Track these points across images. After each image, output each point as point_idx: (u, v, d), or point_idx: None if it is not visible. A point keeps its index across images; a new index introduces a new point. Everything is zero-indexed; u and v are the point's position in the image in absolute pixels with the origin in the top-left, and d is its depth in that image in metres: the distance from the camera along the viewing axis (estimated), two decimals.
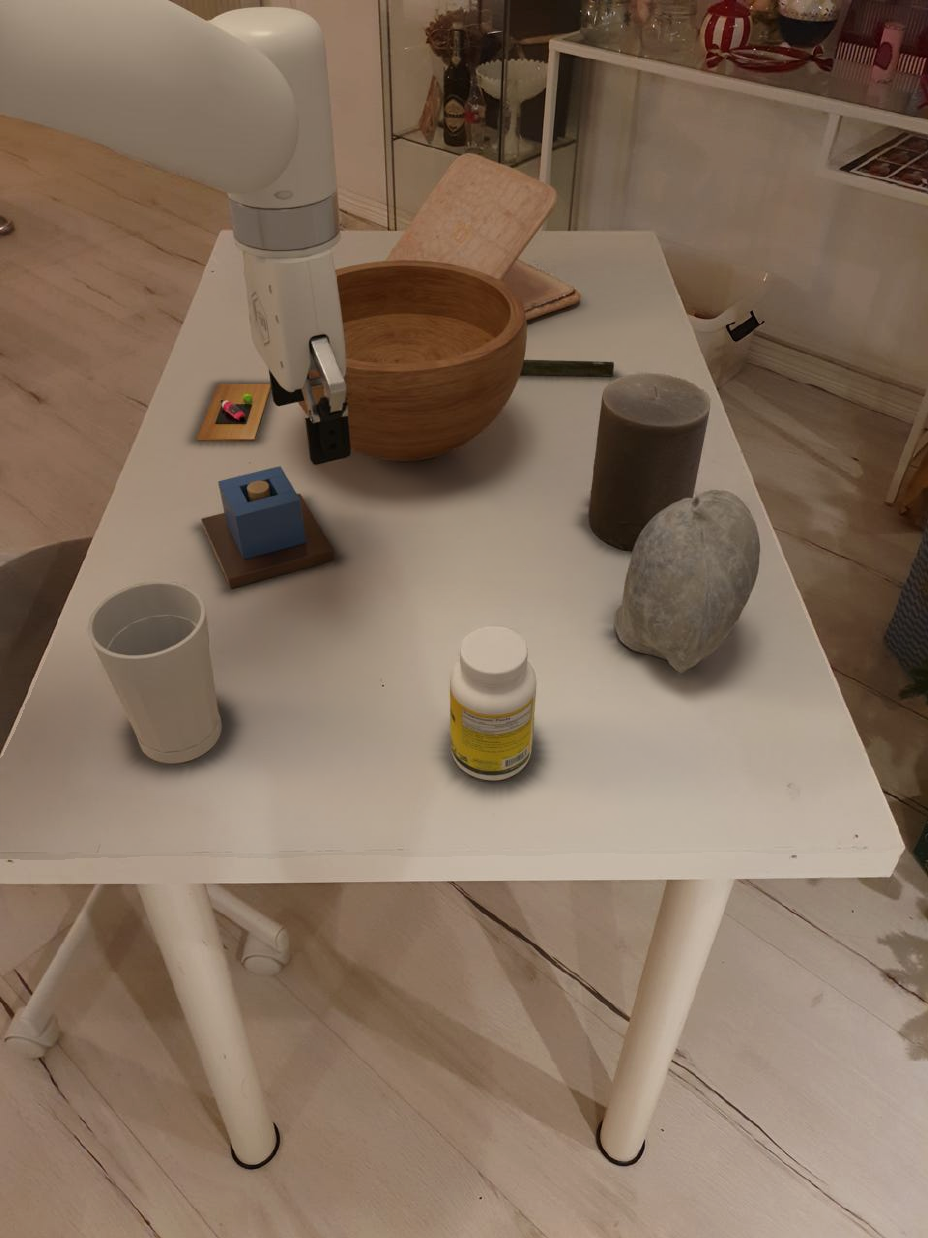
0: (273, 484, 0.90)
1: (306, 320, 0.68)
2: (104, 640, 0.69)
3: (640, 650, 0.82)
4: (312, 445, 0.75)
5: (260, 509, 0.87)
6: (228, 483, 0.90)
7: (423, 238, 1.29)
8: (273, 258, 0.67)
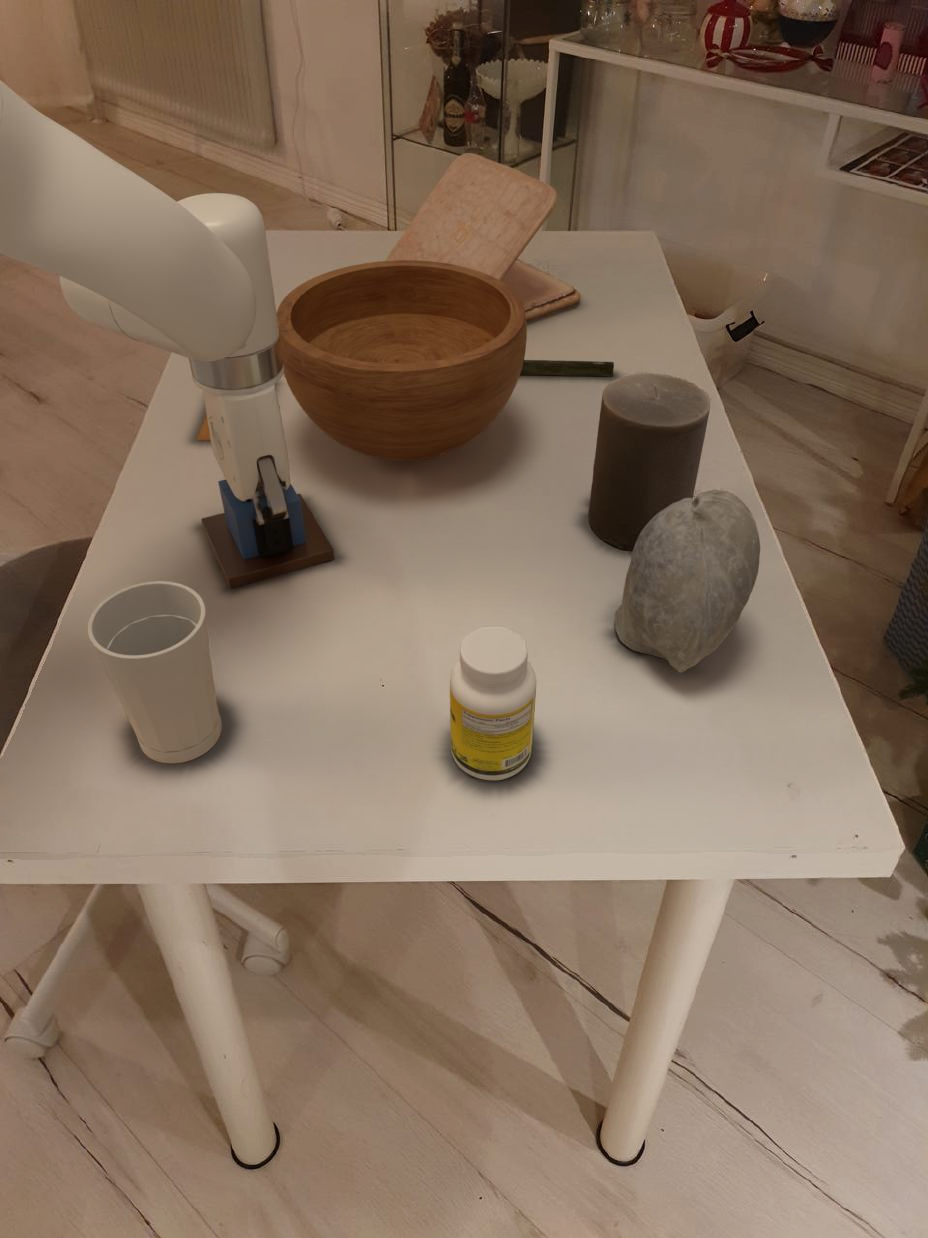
0: None
1: (253, 445, 0.80)
2: (103, 640, 0.69)
3: (640, 650, 0.82)
4: (259, 542, 0.88)
5: None
6: None
7: (423, 238, 1.29)
8: (224, 395, 0.79)
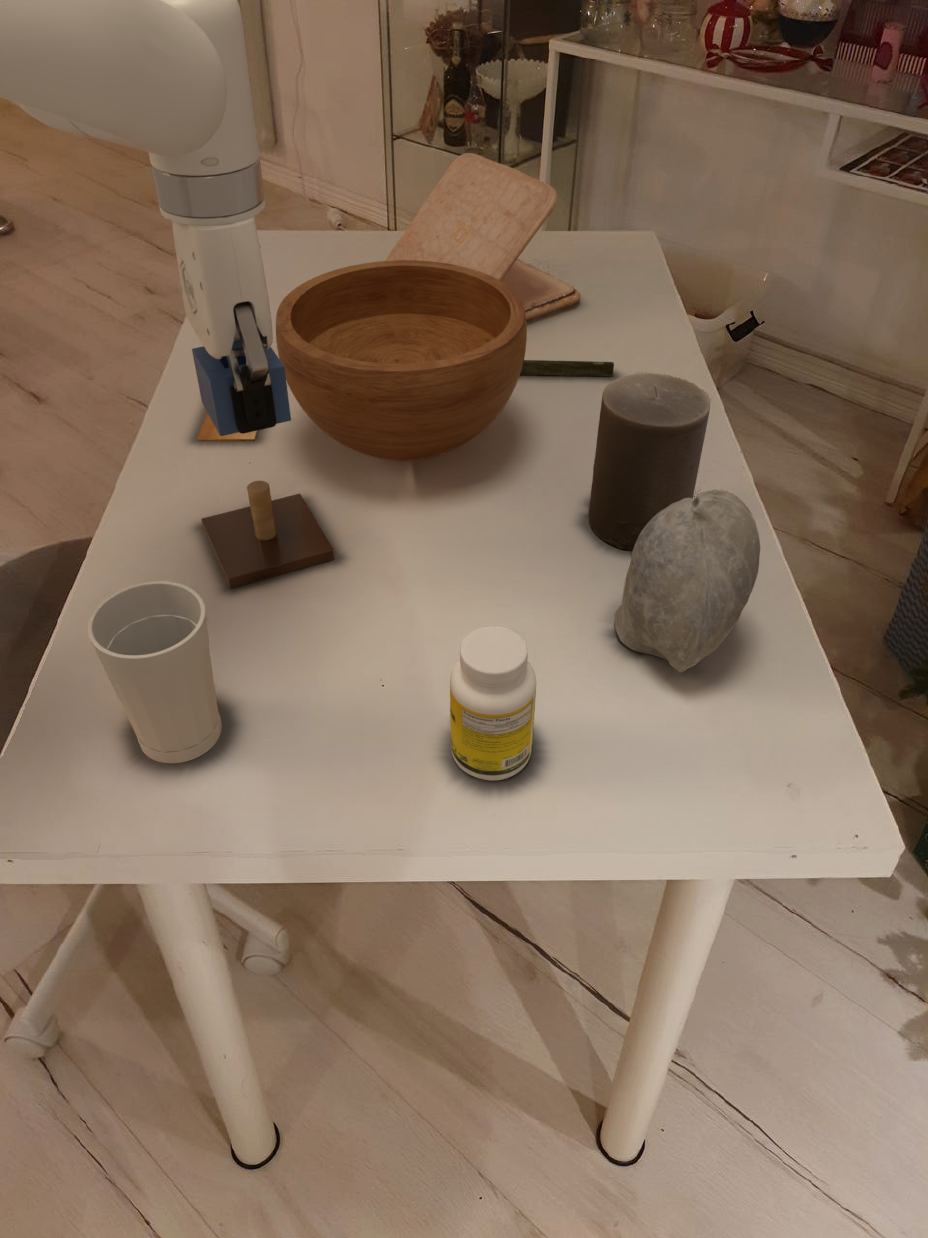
0: None
1: (230, 287, 0.70)
2: (103, 640, 0.69)
3: (640, 650, 0.82)
4: (237, 414, 0.78)
5: None
6: (203, 350, 0.80)
7: (423, 238, 1.29)
8: (195, 225, 0.68)
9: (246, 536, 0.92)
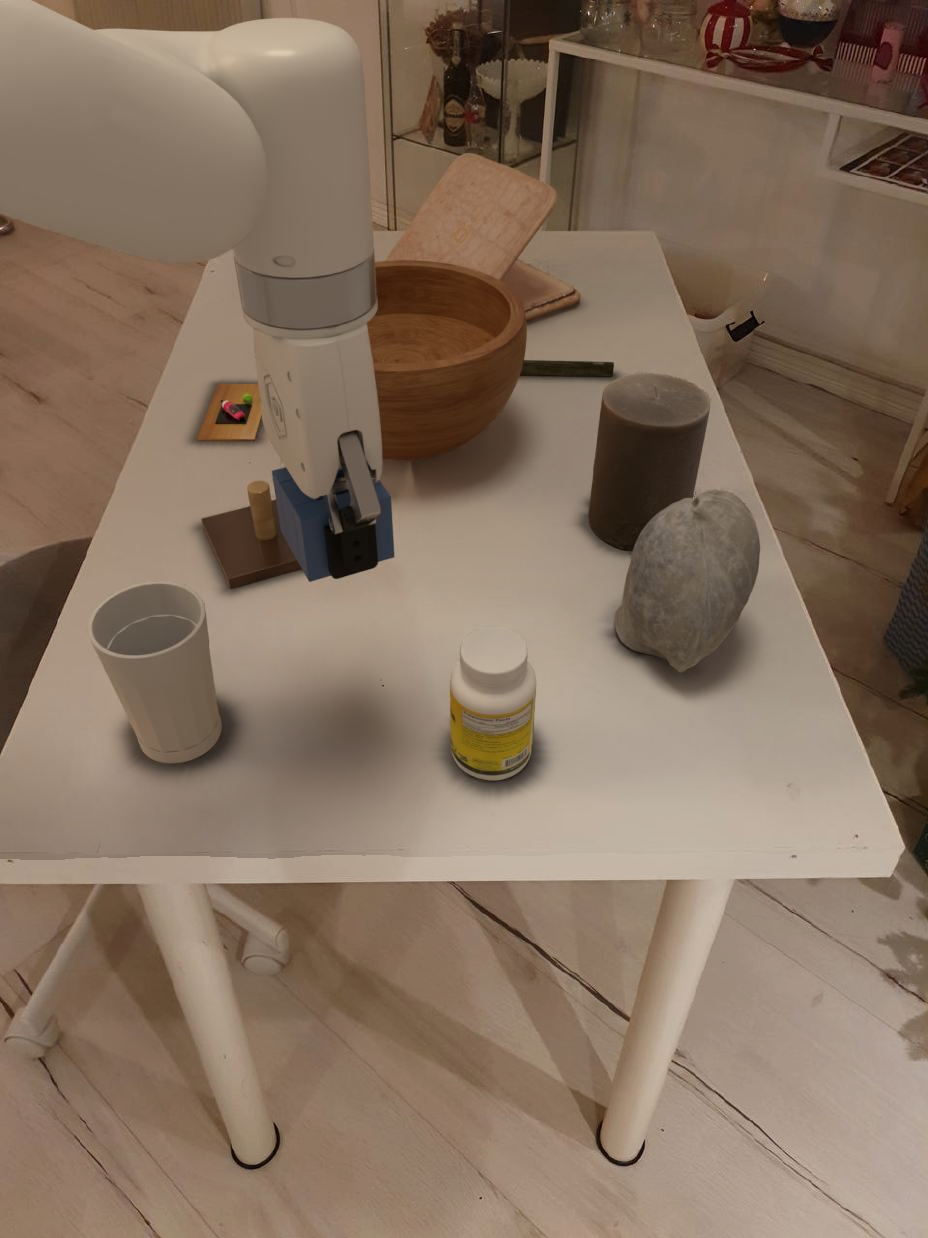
0: None
1: (335, 414, 0.54)
2: (103, 640, 0.69)
3: (640, 650, 0.82)
4: (332, 557, 0.62)
5: None
6: (286, 473, 0.64)
7: (423, 238, 1.29)
8: (293, 338, 0.52)
9: (246, 536, 0.92)
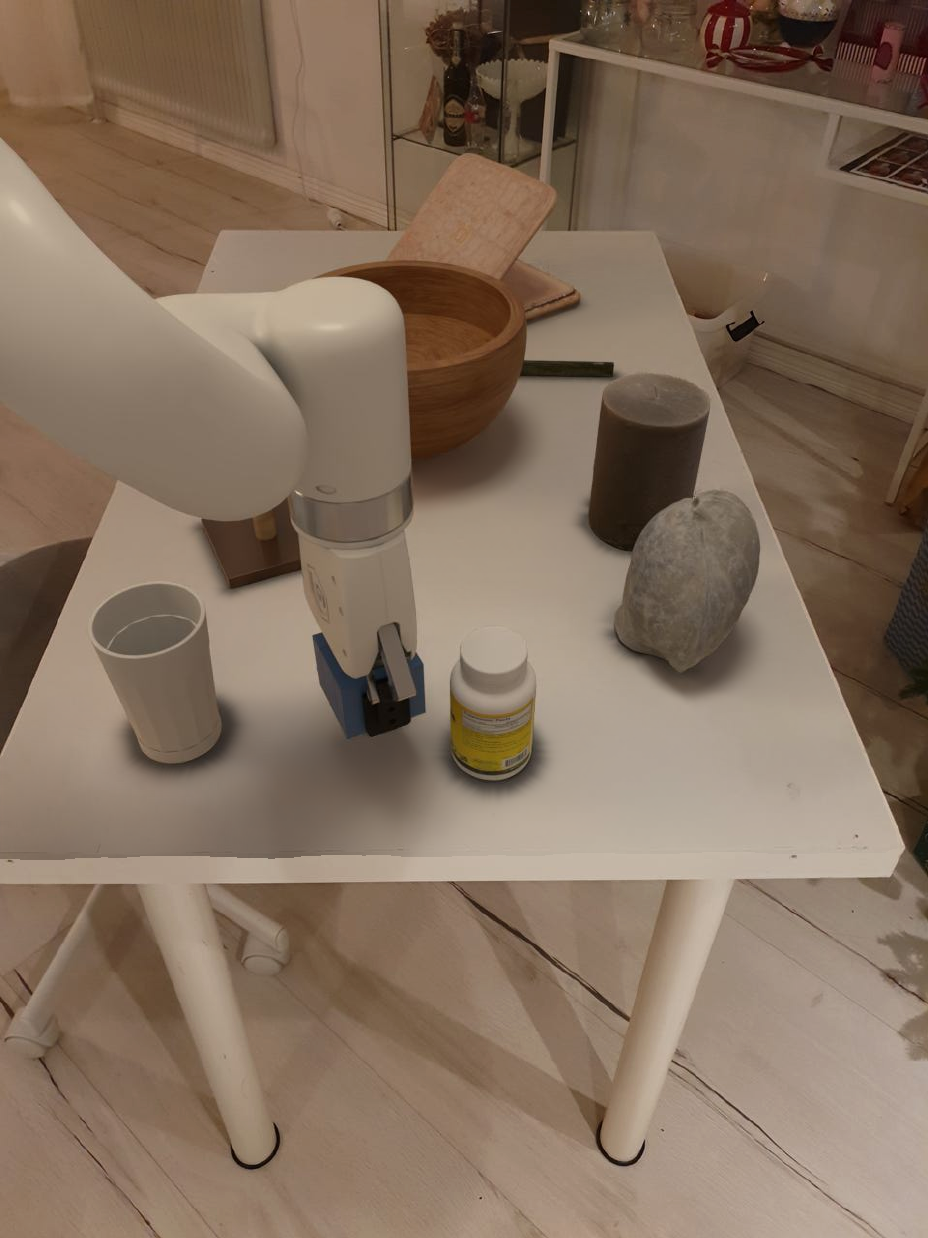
0: None
1: (375, 612, 0.59)
2: (103, 640, 0.69)
3: (640, 650, 0.82)
4: (369, 720, 0.67)
5: None
6: None
7: (423, 238, 1.29)
8: (338, 549, 0.57)
9: (246, 536, 0.92)
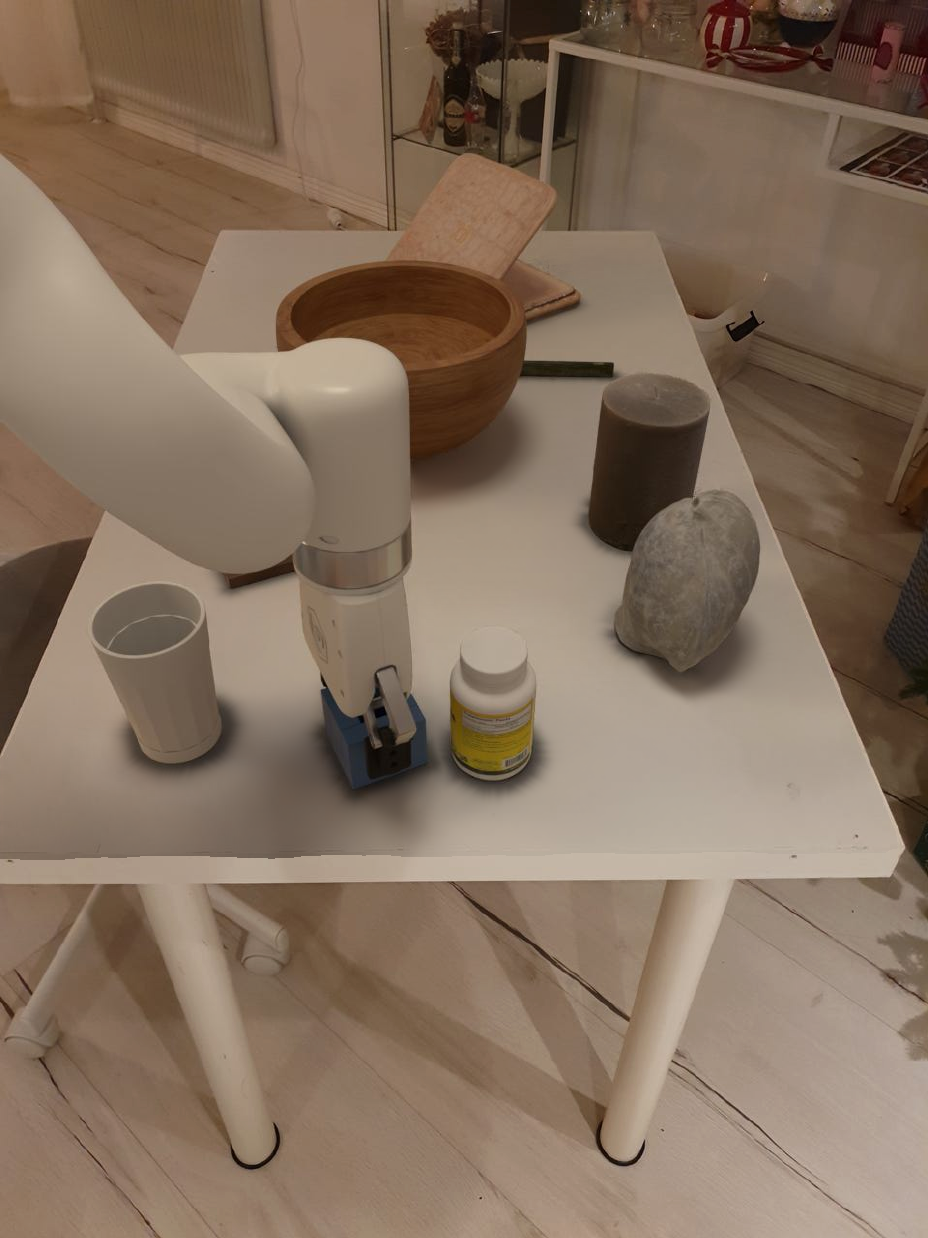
0: None
1: (373, 655, 0.61)
2: (103, 640, 0.69)
3: (640, 650, 0.82)
4: (370, 763, 0.67)
5: None
6: None
7: (423, 238, 1.29)
8: (339, 595, 0.59)
9: None
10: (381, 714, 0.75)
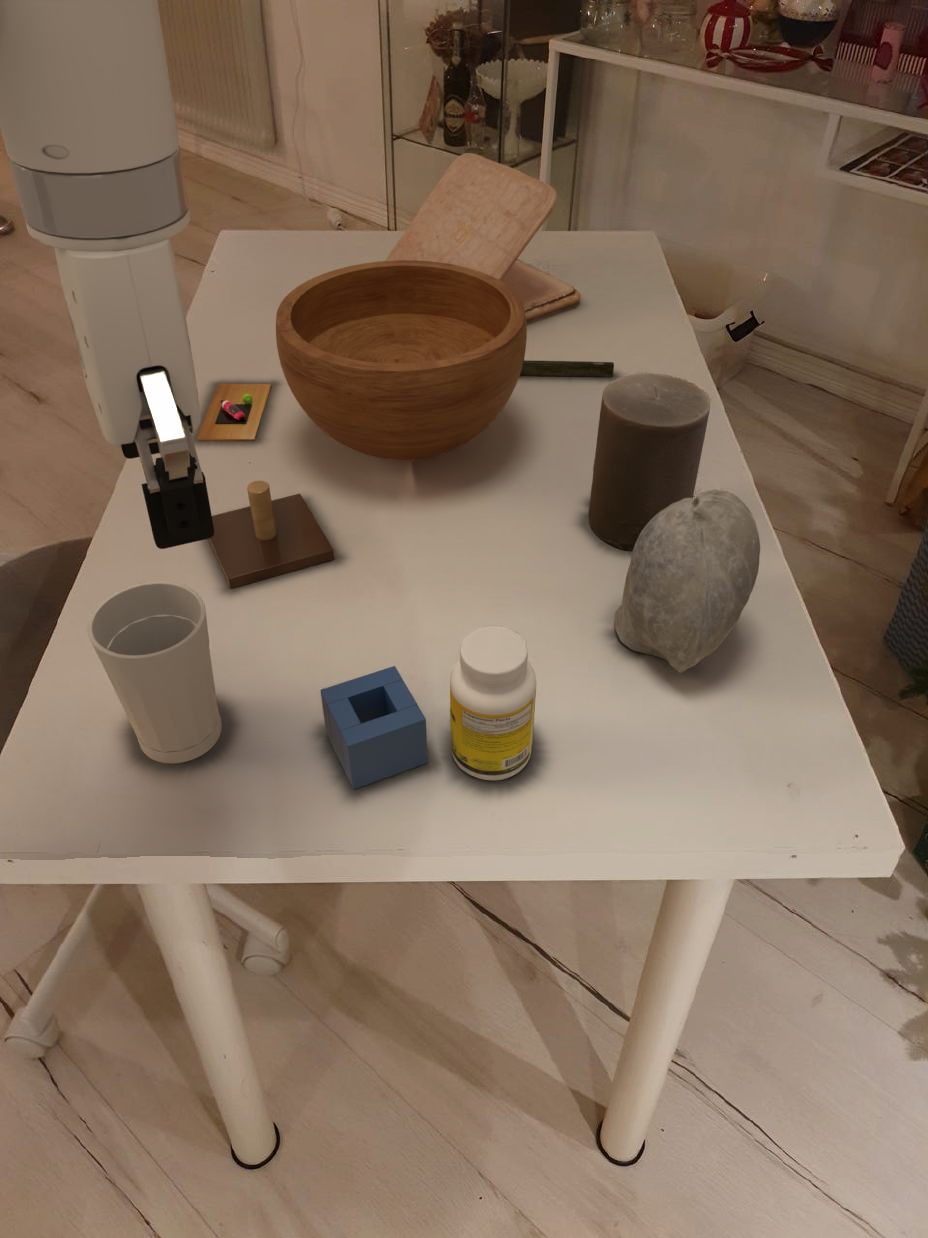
0: (389, 695, 0.72)
1: (130, 345, 0.46)
2: (103, 640, 0.69)
3: (640, 650, 0.82)
4: (154, 522, 0.52)
5: (378, 735, 0.69)
6: (333, 693, 0.72)
7: (423, 238, 1.29)
8: (75, 250, 0.44)
9: (246, 536, 0.92)
10: (381, 714, 0.75)
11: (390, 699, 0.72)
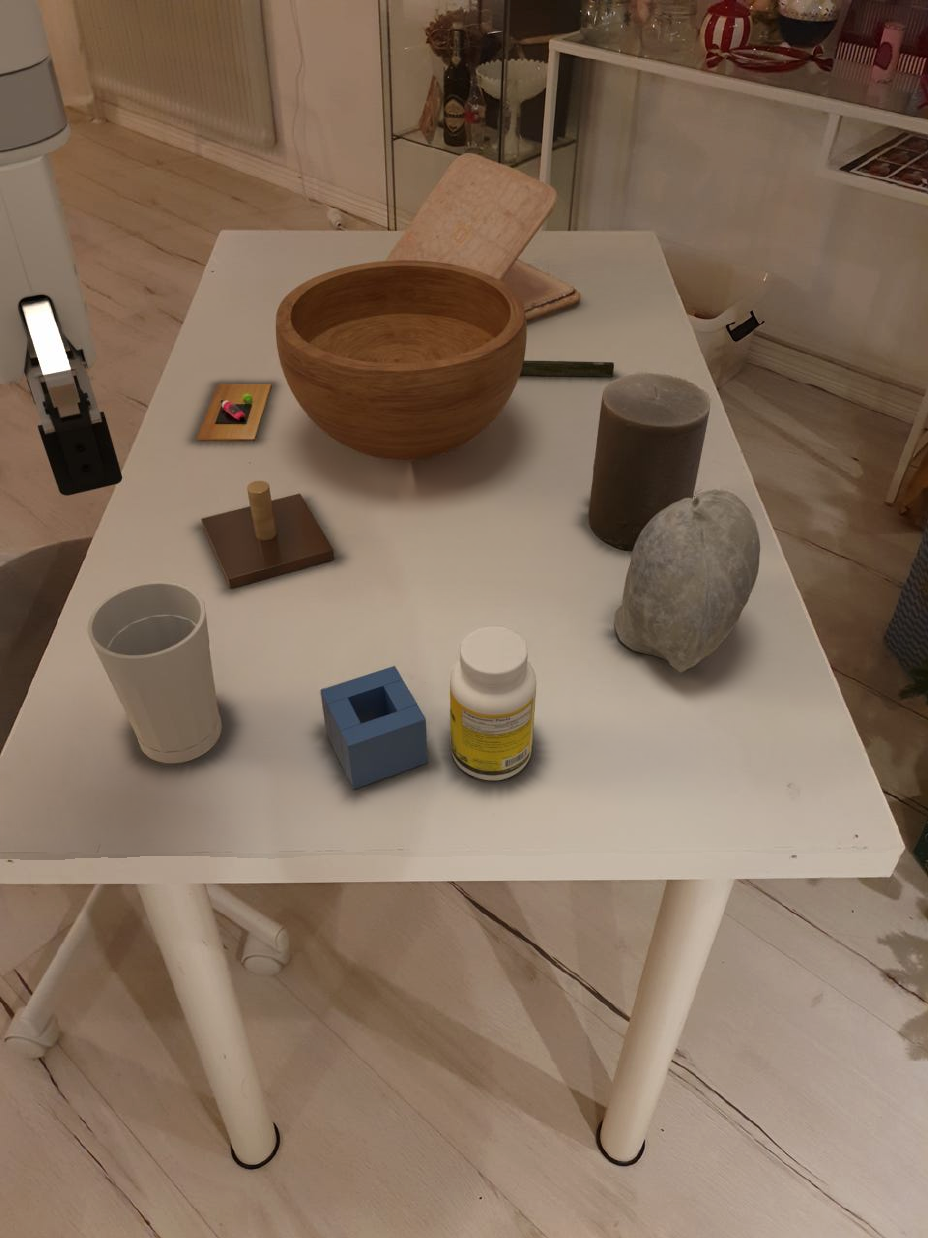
0: (389, 695, 0.72)
1: (7, 271, 0.43)
2: (103, 640, 0.69)
3: (640, 650, 0.82)
4: (55, 466, 0.50)
5: (378, 735, 0.69)
6: (333, 693, 0.72)
7: (423, 238, 1.29)
8: None
9: (246, 536, 0.92)
10: (381, 714, 0.75)
11: (390, 699, 0.72)
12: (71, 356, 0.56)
